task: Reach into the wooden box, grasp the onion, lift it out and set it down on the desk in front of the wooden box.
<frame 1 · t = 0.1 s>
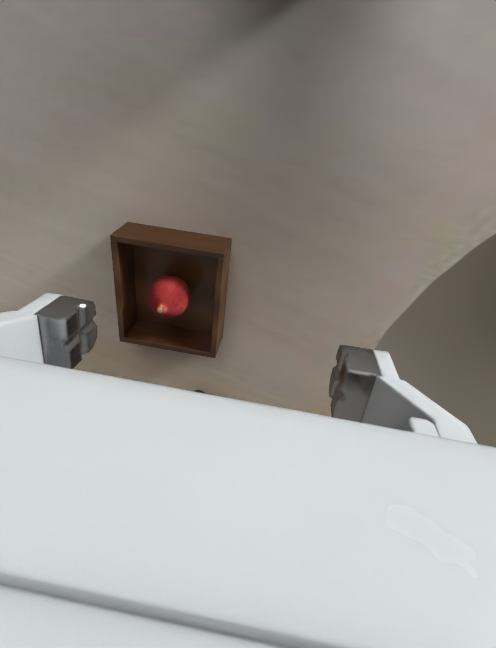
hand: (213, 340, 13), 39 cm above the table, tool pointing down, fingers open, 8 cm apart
wooden box: (178, 283, 56), on the table
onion: (177, 284, 56), resting on wooden box
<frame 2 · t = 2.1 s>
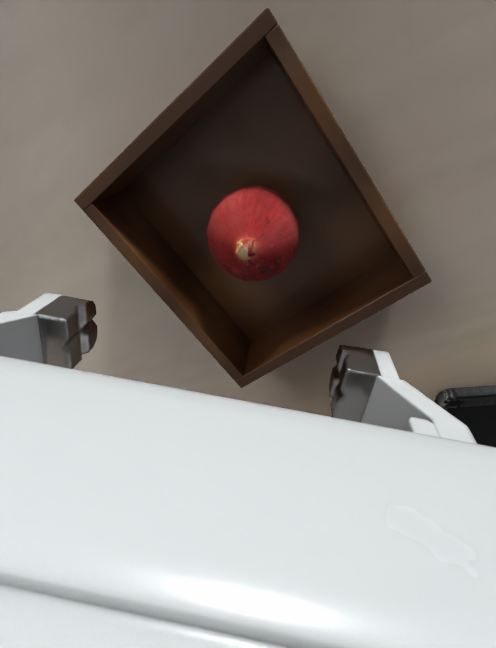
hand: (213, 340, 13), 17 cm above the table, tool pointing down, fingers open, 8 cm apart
wooden box: (259, 220, 28), on the table
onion: (259, 221, 27), resting on wooden box
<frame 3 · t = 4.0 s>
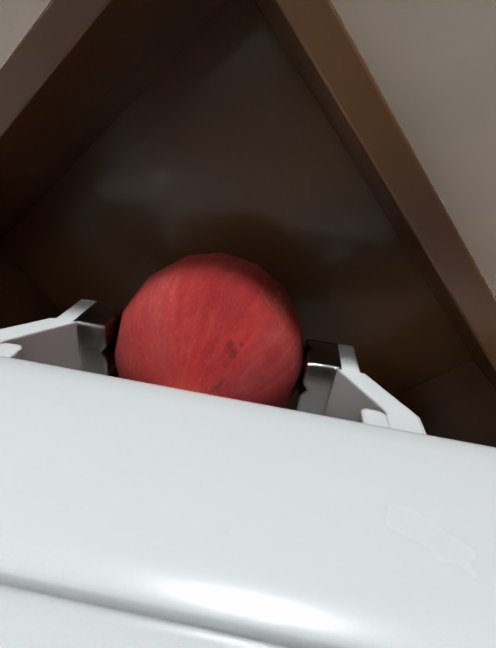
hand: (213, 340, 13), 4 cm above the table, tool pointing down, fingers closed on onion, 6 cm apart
wooden box: (233, 297, 16), on the table
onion: (232, 299, 16), resting on wooden box, touching gripper
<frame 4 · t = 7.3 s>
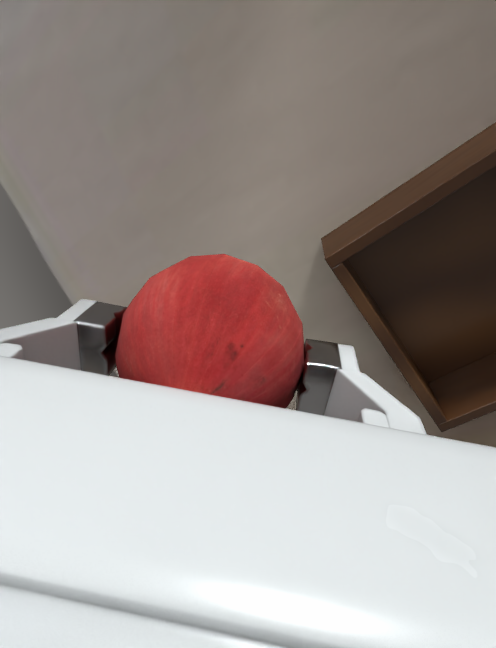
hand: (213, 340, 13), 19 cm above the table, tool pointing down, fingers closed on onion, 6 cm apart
wooden box: (463, 272, 29), on the table
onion: (232, 300, 16), point 15 cm above the table, touching gripper
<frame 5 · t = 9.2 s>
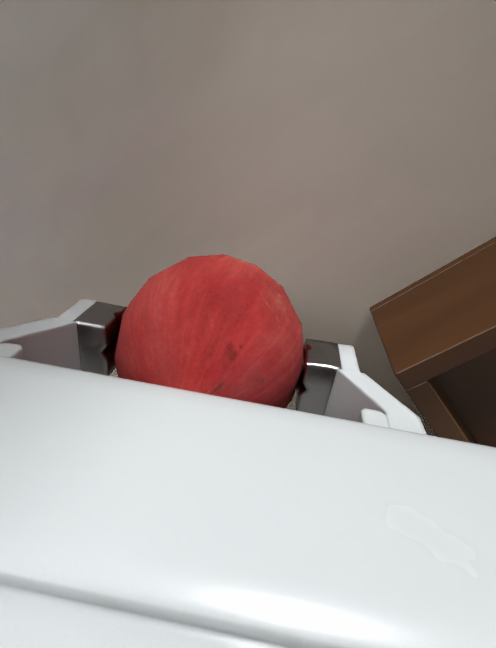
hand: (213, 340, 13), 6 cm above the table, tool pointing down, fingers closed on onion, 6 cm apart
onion: (232, 300, 16), point 2 cm above the table, touching gripper
when the fingers open (3 cm above the table, at t = 10.6 s): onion stays where it is, on the table.
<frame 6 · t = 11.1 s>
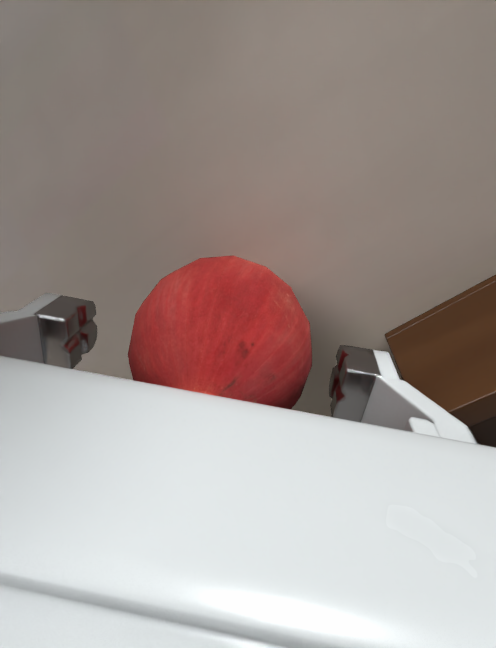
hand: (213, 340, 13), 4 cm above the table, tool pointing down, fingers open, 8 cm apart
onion: (239, 301, 16), on the table
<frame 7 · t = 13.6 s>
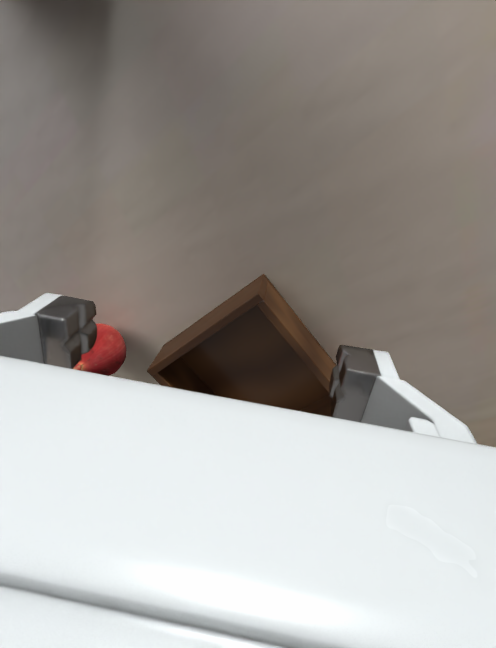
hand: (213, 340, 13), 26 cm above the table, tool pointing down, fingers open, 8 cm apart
wooden box: (257, 365, 43), on the table
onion: (113, 334, 44), on the table
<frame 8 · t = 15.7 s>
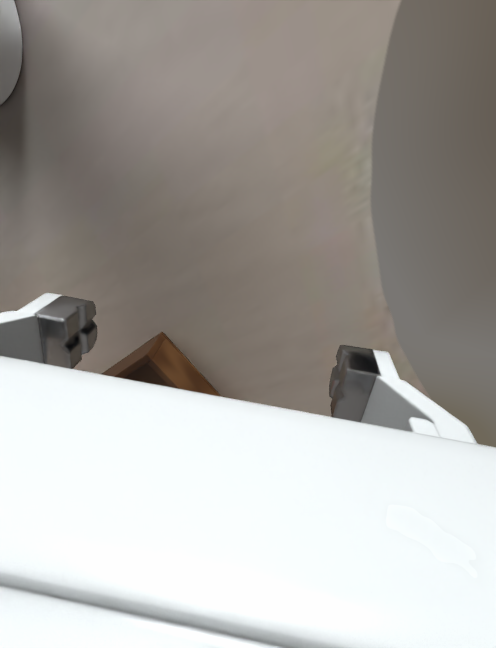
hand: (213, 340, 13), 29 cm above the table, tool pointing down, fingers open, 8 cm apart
wooden box: (165, 402, 52), on the table
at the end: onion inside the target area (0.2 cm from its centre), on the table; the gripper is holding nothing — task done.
